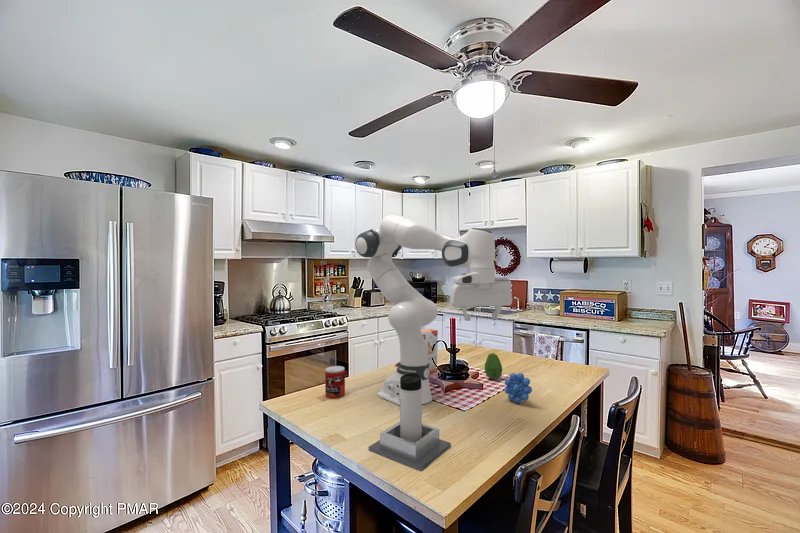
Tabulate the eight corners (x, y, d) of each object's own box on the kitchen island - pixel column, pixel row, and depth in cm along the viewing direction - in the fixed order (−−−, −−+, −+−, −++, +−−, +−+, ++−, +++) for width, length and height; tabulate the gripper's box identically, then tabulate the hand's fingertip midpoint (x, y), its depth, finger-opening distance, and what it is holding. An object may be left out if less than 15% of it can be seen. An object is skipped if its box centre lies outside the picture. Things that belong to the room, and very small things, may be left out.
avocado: (490, 375, 175) (490, 350, 175) (505, 379, 169) (505, 353, 169) (480, 379, 170) (480, 353, 170) (495, 383, 164) (495, 356, 164)
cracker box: (416, 377, 173) (416, 333, 172) (408, 374, 177) (408, 331, 177) (438, 372, 181) (438, 329, 181) (429, 369, 186) (429, 328, 186)
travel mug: (425, 441, 109) (425, 373, 109) (416, 451, 103) (416, 380, 103) (406, 436, 112) (405, 371, 112) (396, 446, 106) (396, 377, 106)
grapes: (537, 404, 139) (537, 373, 139) (528, 409, 135) (528, 377, 135) (510, 396, 148) (510, 366, 148) (500, 400, 144) (500, 369, 144)
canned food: (321, 397, 148) (321, 370, 148) (332, 391, 155) (332, 365, 155) (338, 400, 145) (337, 372, 145) (348, 393, 152) (348, 366, 152)
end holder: (368, 450, 106) (368, 433, 106) (401, 429, 119) (401, 414, 119) (420, 471, 95) (420, 451, 95) (450, 446, 108) (450, 429, 108)
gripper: (507, 277, 125) (507, 317, 125) (448, 277, 122) (448, 319, 122) (515, 277, 119) (515, 320, 119) (454, 278, 116) (454, 322, 116)
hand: (481, 320), depth 120 cm, fingers open, 8 cm apart
